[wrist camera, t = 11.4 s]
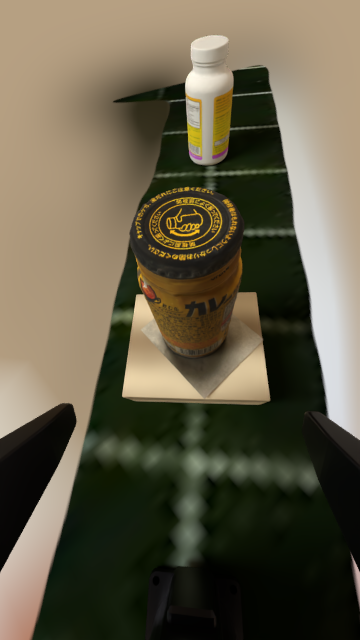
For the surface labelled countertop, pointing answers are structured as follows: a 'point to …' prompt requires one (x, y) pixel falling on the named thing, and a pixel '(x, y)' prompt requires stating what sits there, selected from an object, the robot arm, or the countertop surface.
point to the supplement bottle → (209, 100)
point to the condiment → (193, 282)
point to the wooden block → (169, 384)
